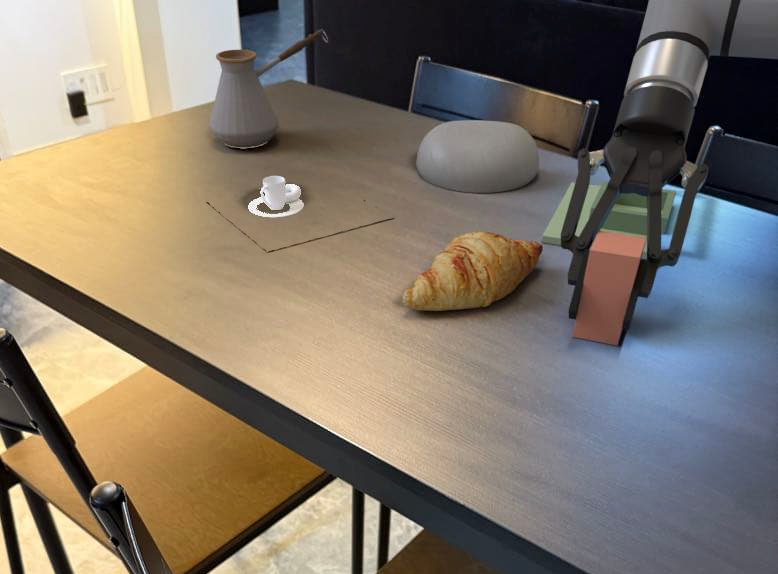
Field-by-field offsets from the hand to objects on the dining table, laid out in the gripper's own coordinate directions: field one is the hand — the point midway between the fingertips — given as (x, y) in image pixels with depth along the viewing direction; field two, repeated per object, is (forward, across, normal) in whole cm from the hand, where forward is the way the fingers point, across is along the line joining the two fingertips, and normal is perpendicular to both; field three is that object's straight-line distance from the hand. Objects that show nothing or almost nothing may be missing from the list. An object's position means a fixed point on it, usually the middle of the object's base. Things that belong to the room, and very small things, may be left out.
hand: (599, 319), depth 81 cm
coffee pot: (-31, +63, -36) cm, 79 cm away
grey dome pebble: (-29, +26, -34) cm, 52 cm away
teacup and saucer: (-13, +46, -18) cm, 51 cm away
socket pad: (-22, +1, -26) cm, 34 cm away
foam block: (0, 0, -5) cm, 5 cm away
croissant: (-3, +16, -8) cm, 18 cm away
